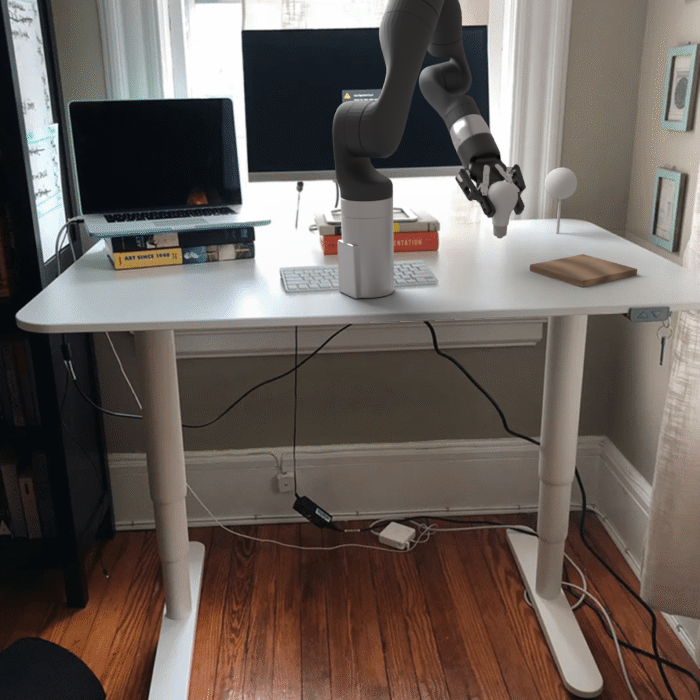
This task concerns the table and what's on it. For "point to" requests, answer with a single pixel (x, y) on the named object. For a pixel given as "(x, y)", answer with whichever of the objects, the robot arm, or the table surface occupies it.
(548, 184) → the lollipop
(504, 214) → the lightbulb
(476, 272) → the table surface
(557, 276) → the walnut board
